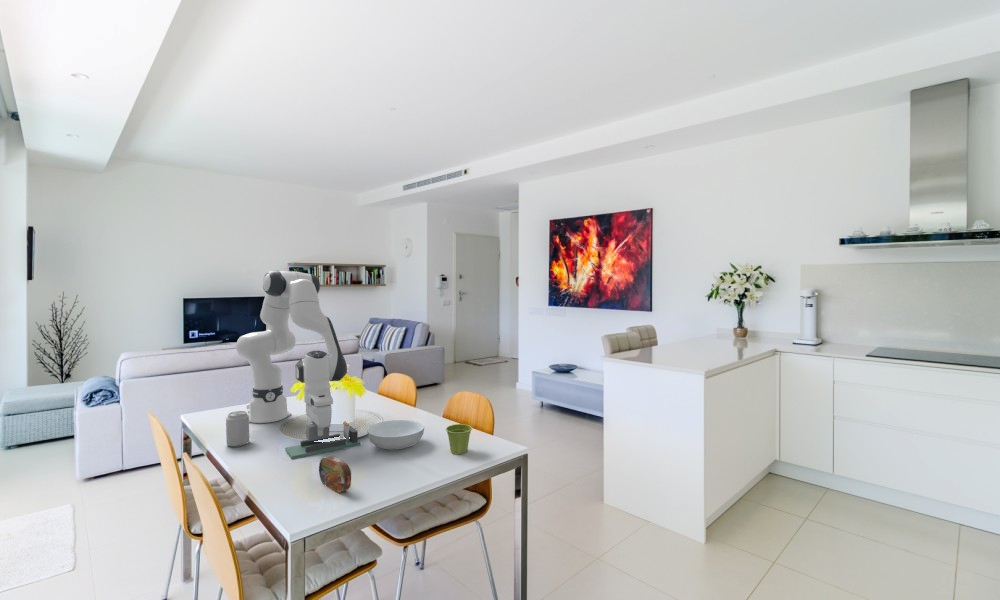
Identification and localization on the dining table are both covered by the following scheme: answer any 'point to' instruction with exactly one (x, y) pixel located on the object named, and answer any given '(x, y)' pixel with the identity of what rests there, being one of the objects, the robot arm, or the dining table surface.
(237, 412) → the can
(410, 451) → the dining table surface
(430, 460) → the dining table surface
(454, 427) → the plant pot
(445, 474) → the dining table surface
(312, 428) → the plug
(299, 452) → the header board
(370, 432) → the serving bowl
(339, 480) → the tin
